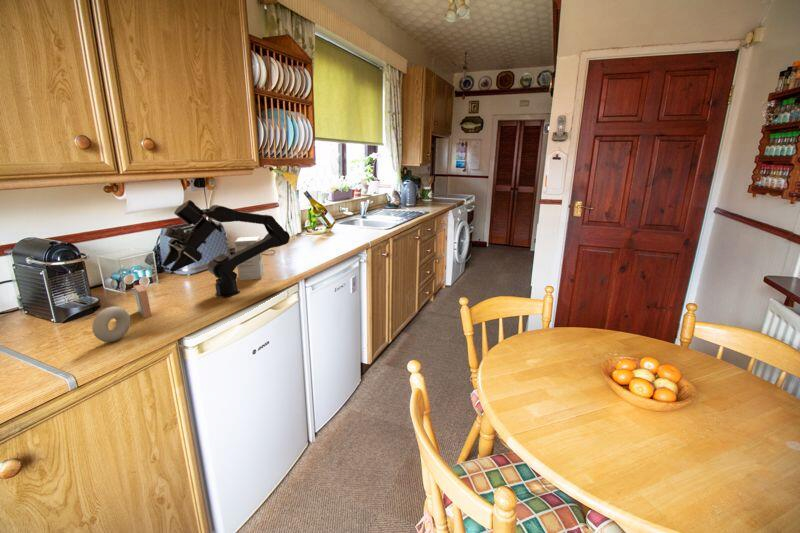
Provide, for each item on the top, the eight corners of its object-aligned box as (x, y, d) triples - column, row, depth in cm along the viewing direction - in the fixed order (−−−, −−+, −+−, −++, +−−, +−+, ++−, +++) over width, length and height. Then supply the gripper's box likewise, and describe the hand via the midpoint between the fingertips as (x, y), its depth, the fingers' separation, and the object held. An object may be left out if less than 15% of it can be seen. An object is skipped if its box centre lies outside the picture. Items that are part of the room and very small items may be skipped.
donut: (103, 349, 101) (95, 315, 99) (93, 347, 102) (84, 314, 100) (136, 333, 111) (129, 301, 108) (127, 332, 112) (120, 300, 109)
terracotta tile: (146, 309, 129) (141, 284, 126) (151, 315, 123) (146, 290, 121) (138, 311, 127) (133, 286, 125) (143, 318, 122) (137, 291, 119)
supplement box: (261, 278, 160) (257, 240, 155) (238, 280, 158) (233, 241, 154) (264, 272, 169) (260, 236, 164) (242, 274, 167) (237, 237, 163)
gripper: (172, 215, 133) (139, 249, 128) (188, 221, 120) (152, 259, 115) (198, 235, 140) (167, 268, 135) (216, 243, 127) (183, 279, 122)
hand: (167, 268), depth 127 cm, fingers open, 9 cm apart
